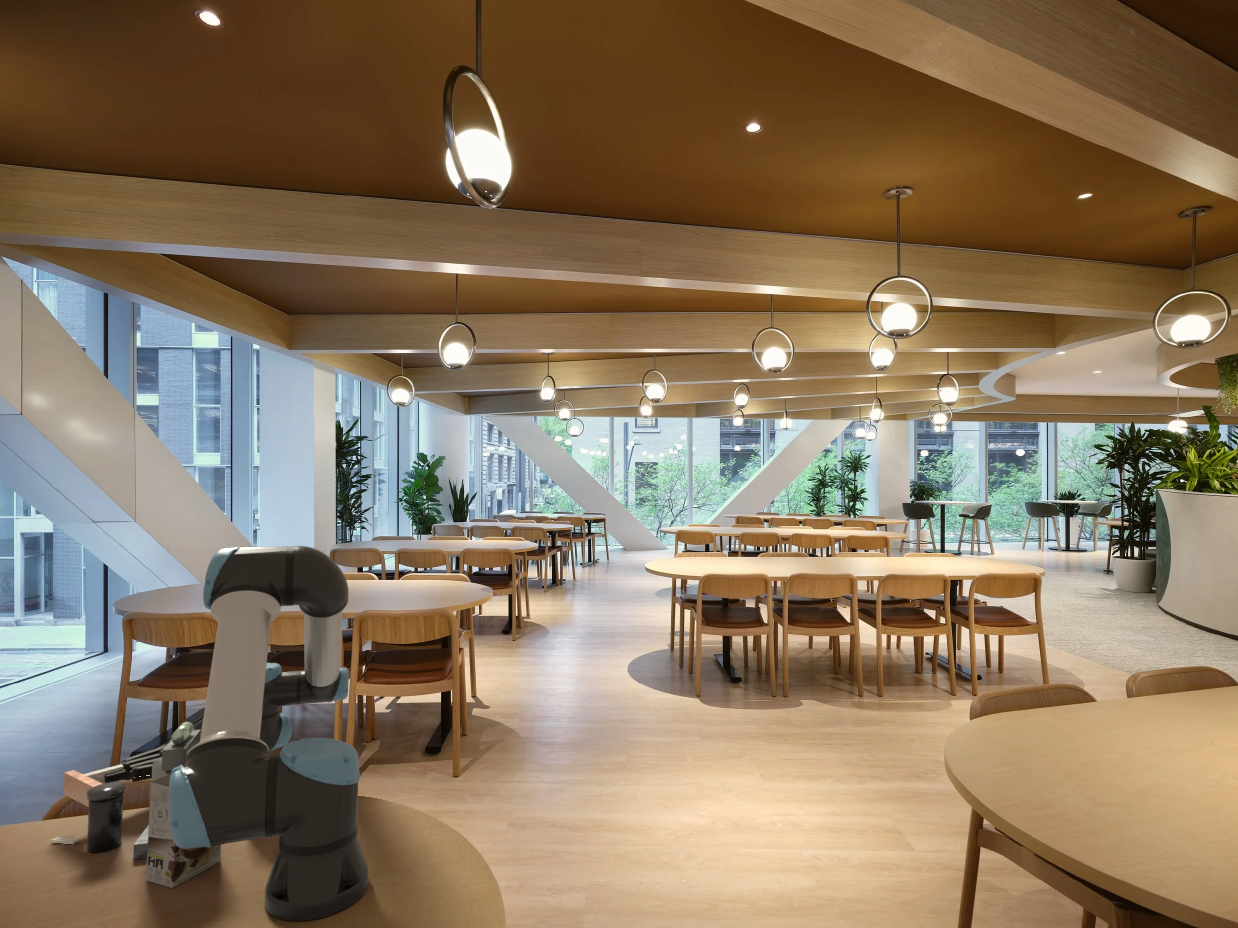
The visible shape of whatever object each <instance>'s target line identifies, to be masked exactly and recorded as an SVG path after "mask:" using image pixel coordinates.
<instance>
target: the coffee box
mask: <svg viewBox="0 0 1238 928" xmlns="http://www.w3.org/2000/svg"><path fill="white" fill-rule="evenodd" d="M170 776H171V774H170V775H167V776H165V777H162V778H159V779H157V780H154V781H152V780H151V781H150V790H149V791H150V792H149V794H150V795H149V809H148V810H149V813H148V825H149V830H148V851H147V858H146V875H145V880H146V881H147V882H151V883H153V884H158V885H161V886H163V887H167V888H169V889H173V888H176V887H177V886H179V885H180V884H182V883H184V882H186V881H188V880H189V879H192V878H194V877H195V876H197V875H199V874H201V873H202V872H204V871H206V870H208V869H210V868H211V867H213V866H214V865H217V864H218V863H220V862H221V858H222V857H221V855H222V853H221V851H222V850H221V849H222V844H220V845H214V846H211V847H209V848H207V847H198V848H188V849H182V848H179V847H178V846H177V845H176V844H175V843H174V841H173V838H172V834H171V827H170V816H169V781H170Z"/></svg>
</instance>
